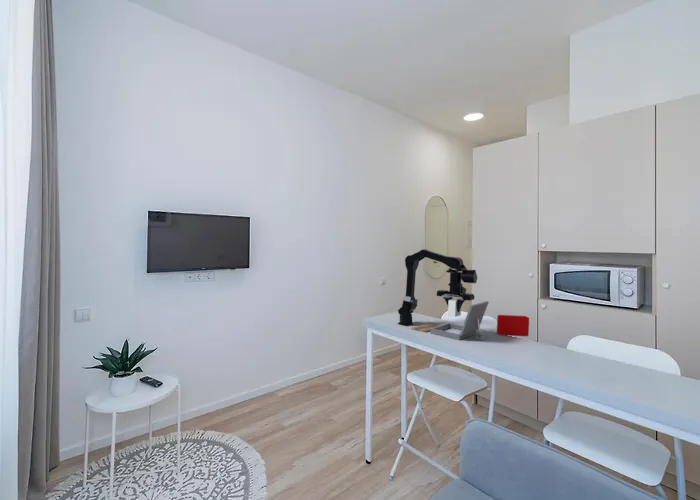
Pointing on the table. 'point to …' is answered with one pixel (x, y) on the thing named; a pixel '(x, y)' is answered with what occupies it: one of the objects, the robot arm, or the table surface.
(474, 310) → the case lid
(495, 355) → the table surface
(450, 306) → the block
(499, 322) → the red flat block
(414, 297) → the robot arm
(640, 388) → the table surface
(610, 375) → the table surface
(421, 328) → the walnut board
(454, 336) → the case
